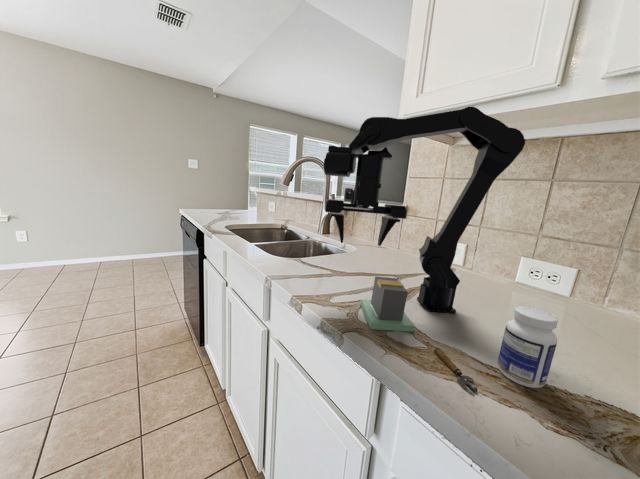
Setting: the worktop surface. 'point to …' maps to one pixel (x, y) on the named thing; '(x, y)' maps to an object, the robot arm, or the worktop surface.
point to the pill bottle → (528, 347)
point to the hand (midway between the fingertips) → (360, 244)
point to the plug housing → (389, 298)
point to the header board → (385, 324)
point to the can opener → (456, 372)
